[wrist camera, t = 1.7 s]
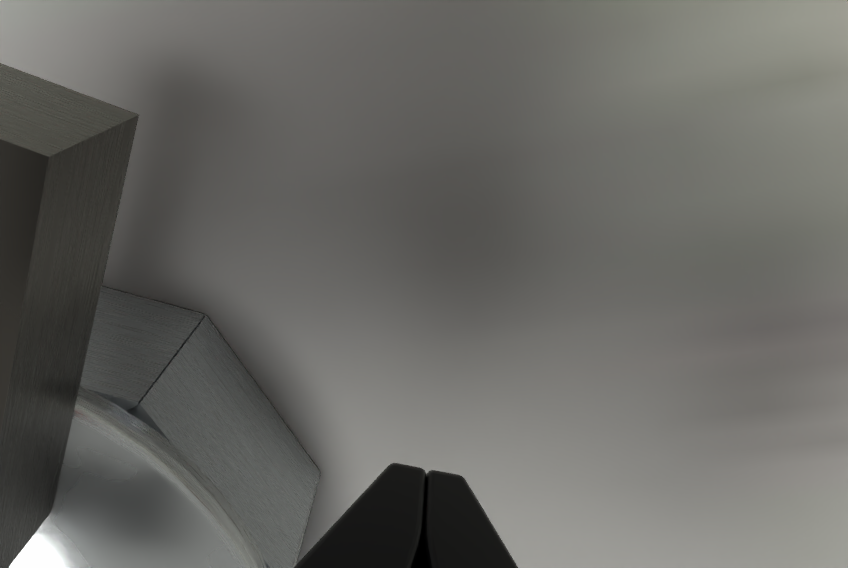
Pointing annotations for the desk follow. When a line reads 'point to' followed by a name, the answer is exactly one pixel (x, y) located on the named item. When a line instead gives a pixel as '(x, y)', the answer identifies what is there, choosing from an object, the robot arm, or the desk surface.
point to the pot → (205, 413)
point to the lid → (81, 362)
